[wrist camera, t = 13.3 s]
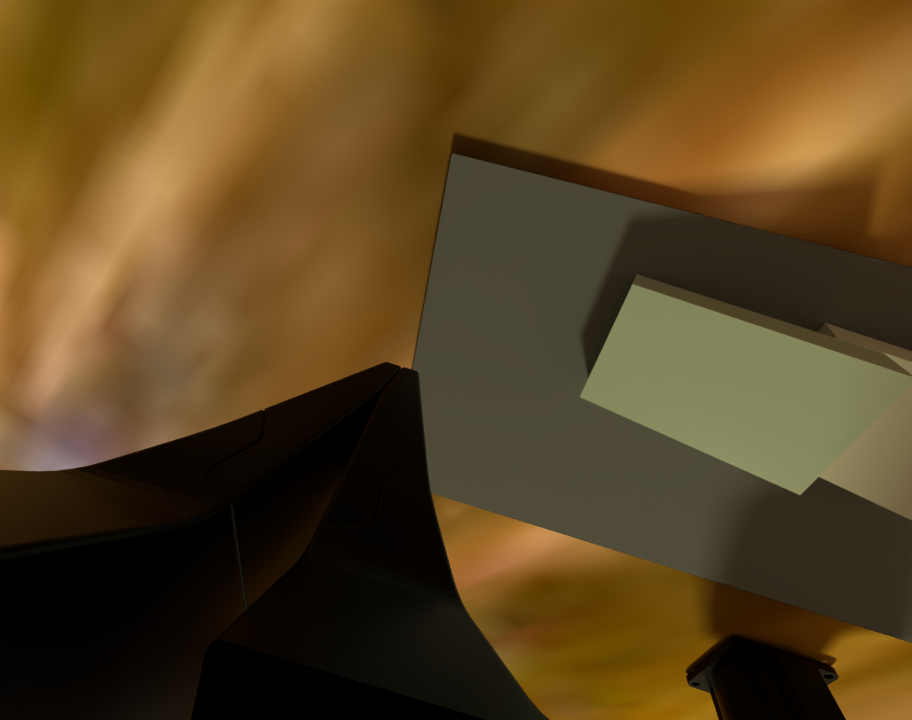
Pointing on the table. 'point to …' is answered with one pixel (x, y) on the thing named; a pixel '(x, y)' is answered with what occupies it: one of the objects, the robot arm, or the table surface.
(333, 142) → the table surface
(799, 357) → the domino
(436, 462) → the mat
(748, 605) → the table surface
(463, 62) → the table surface
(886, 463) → the domino
